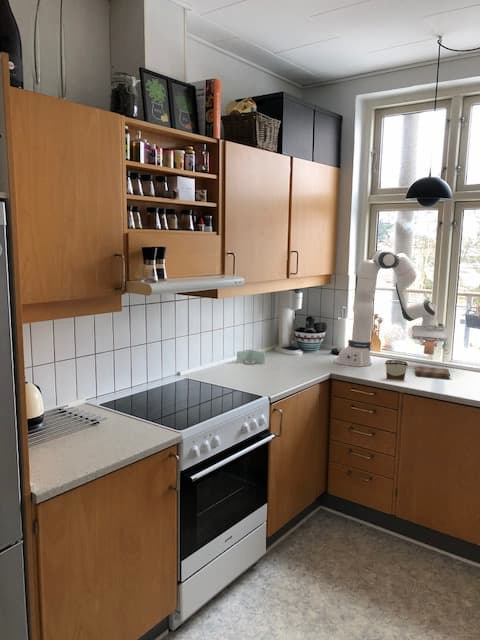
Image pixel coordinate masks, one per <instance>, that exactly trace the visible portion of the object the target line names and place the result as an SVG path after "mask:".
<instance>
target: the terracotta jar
mask: <svg viewBox="0 0 480 640" xmlns="http://www.w3.org/2000/svg"><path fill="white" fill-rule="evenodd" d="M424 342H425V345H423V354H425V355H434V354H435V347H436V346H435V343H436V341H435V339H434V338H425V340H424Z"/></svg>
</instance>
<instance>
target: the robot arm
mask: <svg viewBox="0 0 480 640" xmlns="http://www.w3.org/2000/svg"><path fill="white" fill-rule="evenodd" d="M381 269H383V270H388V269H389V270H390V269H392V270H393V272H394V273H395V276H396V278H397V279H396V280H397V282H396V283H395V290H396V294H397V295H396V296H397V298H398V301H399V306H400V309H401V314H402V317H403V319H404V320H406V321H409V322H412V321H414V320H416V319H420V318H421V319H422V322H421V325H413V326H411V331H412V333H411V334H412V335H411V339H413V340H418V341H420V343H421V345H422V346H424V345H425V338H434V339H435V346H434V347H438V344H439V342H441V343H443V342H444V343H447V341H448V339H449V337H448V336H449V335H448V334H449V333H448V329H446V325H445V324H443V323H441V322H438V309H437V306H436V305H435V304H434V303H433V302H431V301H430V300H428V299H424V300H420V301H417V302H413V303H409V302H408V298H407V295H406V294H407V293H406V291H407V289H408V288H409V287H410V286H412V284H413V283H414V282H415V281H416V279H417V271H416V270H415V267H414V265H413V263H412V262H411V260H410V258H409V257H408V256H407V254H406V253H401V252H400V253H398V254H396V253H395V252H393V251H391V250H387V249H378V250H376V251H375V252H373V253H372V255H371V256H370V258H369V259H366V260H363V261H362V262H361V265H360V267H359V271H358V275H357V276H358V277H357V284H356V290H355V291H356V292H355V294H354V295H355V296H354V301H353V306H352V310H353V313H354V318H353V324H352V326H353V327H352V333H351V334H352V335H351V336H352V337H351V339H348V341H347V342H348V343H347V346H346V347H344V348H343V349H341V350H340V351H339V353H338V356H337V357H335V359H334V364H338V365H345V366H352V367H353V366H354V367H358V368H359V367H365V366H371V365H372V361H371V349H372V348H371V347H372V342H371V337H372V336H371V335H372V326H373V320H374V313H375V312H374V311H375V309H374V308H375V307H374V306H373V302H374V297H375V293H376V288H377V287H376V286H377V280H378V274H379V271H380V270H381Z"/></svg>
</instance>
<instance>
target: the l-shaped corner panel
mask: <svg viewBox="0 0 480 640" xmlns="http://www.w3.org/2000/svg"><path fill="white" fill-rule="evenodd" d="M242 363H244V364H245V365H247V366H248V365H249V366H251V365H255V364H256V363H257V364H261V365H265V364H266V351H265V352H264V351H260V350H255V349H251V348H250V349H245V350H240V351H239V350H238V351H237V352H236V364H242Z"/></svg>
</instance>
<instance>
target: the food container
mask: <svg viewBox="0 0 480 640" xmlns="http://www.w3.org/2000/svg"><path fill="white" fill-rule="evenodd" d="M384 365H385V371H386V372H385V375H386V380H392V381H405V378H406V374H407V367H409V364H408V362H407V361H405V360H401V359H388V360H386V361H385V363H384Z"/></svg>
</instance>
